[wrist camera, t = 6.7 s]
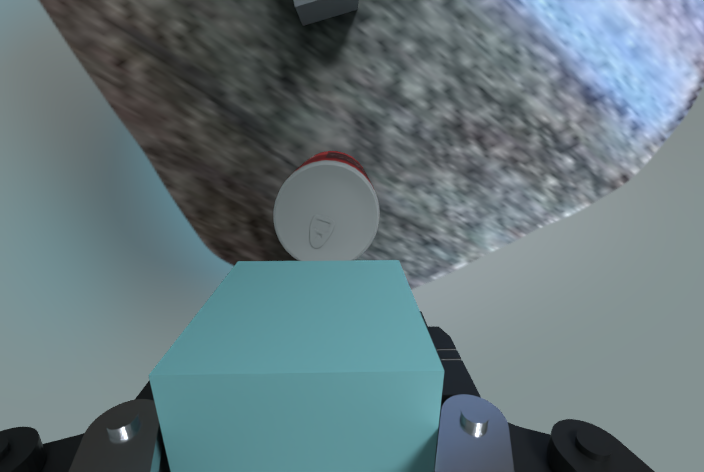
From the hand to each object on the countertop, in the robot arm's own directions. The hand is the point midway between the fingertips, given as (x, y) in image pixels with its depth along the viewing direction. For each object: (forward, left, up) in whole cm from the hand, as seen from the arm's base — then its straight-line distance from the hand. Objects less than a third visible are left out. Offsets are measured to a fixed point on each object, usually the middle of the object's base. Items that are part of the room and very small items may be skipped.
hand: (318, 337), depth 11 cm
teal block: (0, 0, 0) cm, 0 cm away
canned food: (0, 0, -25) cm, 25 cm away
